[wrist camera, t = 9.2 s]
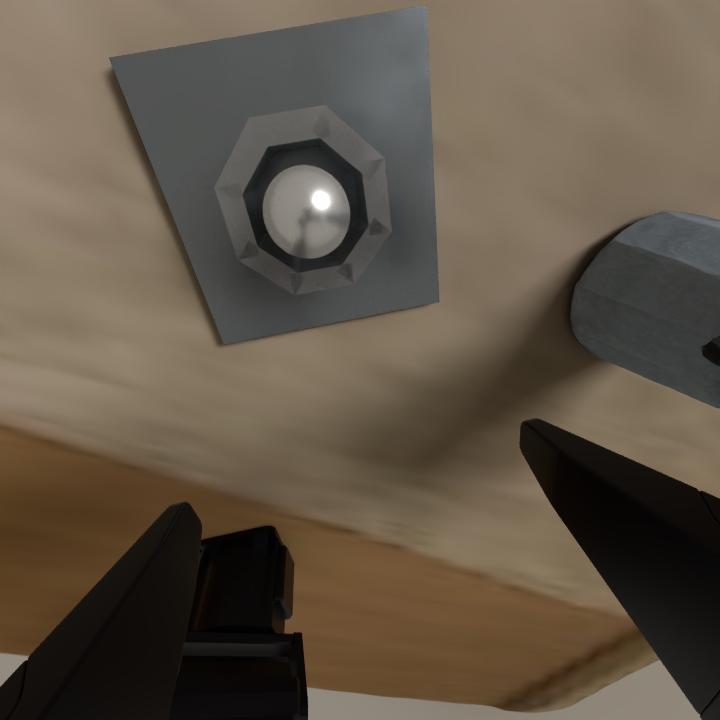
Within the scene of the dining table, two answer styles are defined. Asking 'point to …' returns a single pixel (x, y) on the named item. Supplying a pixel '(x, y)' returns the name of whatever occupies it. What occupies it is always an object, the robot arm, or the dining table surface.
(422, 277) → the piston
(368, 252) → the ring
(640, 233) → the moka pot
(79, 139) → the dining table surface
